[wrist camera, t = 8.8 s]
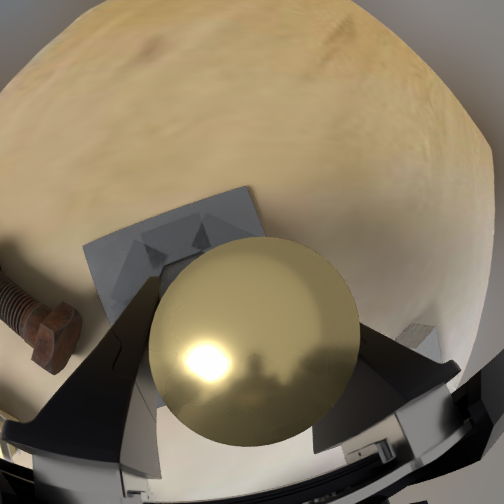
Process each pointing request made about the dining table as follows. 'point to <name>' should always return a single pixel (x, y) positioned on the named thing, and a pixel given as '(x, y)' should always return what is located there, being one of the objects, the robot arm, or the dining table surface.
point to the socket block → (166, 247)
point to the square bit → (422, 341)
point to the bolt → (40, 325)
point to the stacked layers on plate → (3, 448)
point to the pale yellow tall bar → (254, 341)
